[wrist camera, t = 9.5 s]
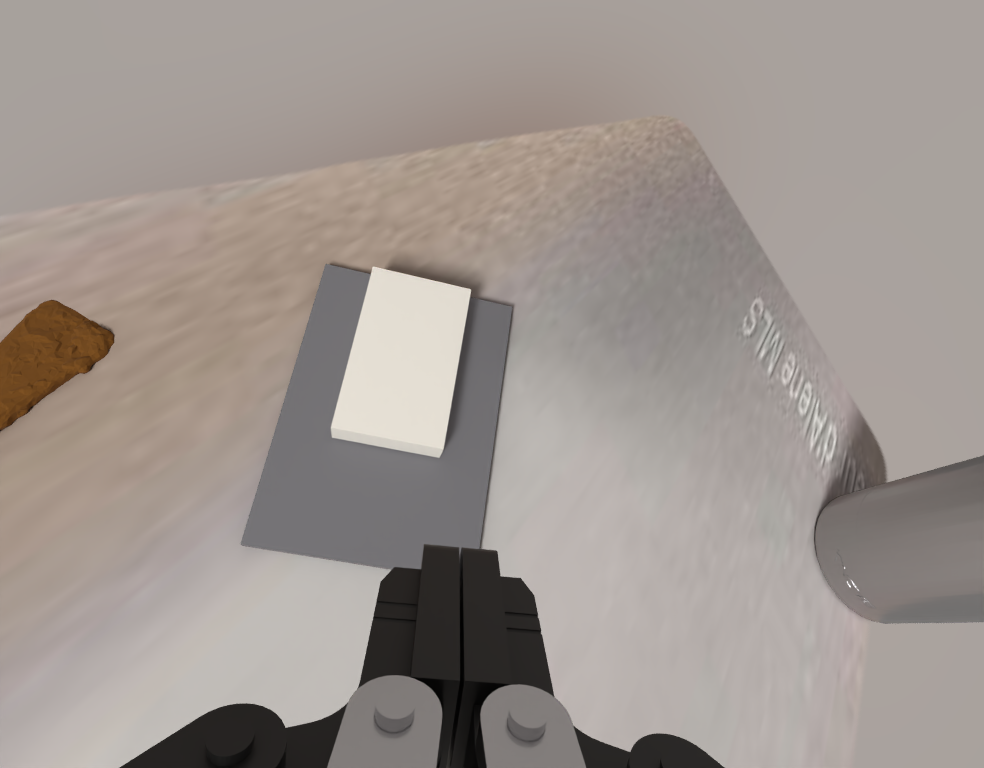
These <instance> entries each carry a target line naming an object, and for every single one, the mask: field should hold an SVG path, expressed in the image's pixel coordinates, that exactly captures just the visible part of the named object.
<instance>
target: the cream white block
mask: <svg viewBox="0 0 984 768" xmlns="http://www.w3.org/2000/svg"><path fill="white" fill-rule="evenodd" d="M470 294H471V289H468V288H463V287H459V286H455V285H450V284H446V283H442V282H438V281H433V280H429V279H425V278H420V277H416V276H412V275H407V274H403V273H399V272H394V271H390V270H386V269H381V268H377V267H373V268H372V272H371V276H370V280H369V284H368V287H367V291H366V295H365V299H364V303H363V306H362V310H361V314H360V318H359V322H358V326H357V329H356V333H355V337H354V341H353V345H352V348H351V352H350V356H349V360H348V364H347V367H346V371H345V375H344V379H343V383H342V387H341V390H340V394H339V398H338V402H337V406H336V409H335V413H334V417H333V421H332V425H331V434H332V438H337V439H342V440H347V441H353V442H358V443H363V444H369V445H374V446H379V447H384V448H390V449H395V450H400V451H405V452H411V453H416V454H421V455H427V456H432V457H437V458H440V456H441V454H442V451H443V449H444V444H445V438H446V432H447V426H448V421H449V415H450V409H451V403H452V397H453V392H454V386H455V380H456V374H457V369H458V363H459V357H460V351H461V346H462V340H463V334H464V328H465V323H466V317H467V311H468V305H469V299H470Z"/></svg>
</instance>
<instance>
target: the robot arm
mask: <svg viewBox="0 0 984 768" xmlns="http://www.w3.org/2000/svg"><path fill="white" fill-rule="evenodd" d="M815 545H816V552H817V558H818V561H819V564H820V567H821V570H822V572H823V574H824V576H825V578H826V580H827V582H828V584H829V585H830V587H831V588H832V589H833V591H834V592H835V593H836V595H837V596H838V597H839V598H840V599H841V600H842V601H843V602H844V603H845V604H846V605H847V606H848V607H849V608H850V609H852V610H853V611H854V612H856V613H857V614H859V615H860V616H862V617H865V618H867V619H869V620H871V621H874V622H880V623H885V624H888V623H967V622H984V455H983V456H980V457H976V458H973V459H969V460H966V461H963V462H959V463H955V464H952V465H948V466H945V467H941V468H938V469H934V470H931V471H927V472H924V473H920V474H917V475H913V476H910V477H906V478H902V479H899V480H895V481H892V482H888V483H884V484H880V485H877V486H874V487H870V488H867V489H863V490H860V491H856V492H853V493H849V494H846V495H842V496H839V497H837V498H836V499H834V500H832V501H830V503H829V504H828V505H827V506H826V507H825V508H824V509H823V511H822V513H821V515H820V517H819V518H818V522H817V526H816V532H815ZM120 768H724V767H723V766H722V765H720V764H719V763H718V762H717V761H716V760H714V759H713V758H712V757H711V756H709V755H708V754H707V753H706V752H704V751H703V750H702V749H700V748H699V747H698V746H696V745H694V744H693V743H691V742H689V741H687V740H685V739H682V738H680V737H677V736H674V735H669V734H651V735H647V736H644V737H642V738H641V739H639V740H638V741H637V742H636V743H635V744H634V746H633V748H632V750H631V752H628V751H625V750H622V749H619V748H617V747H614V746H611V745H608V744H605V743H603V742H600V741H598V740H595V739H593V738H591V737H589V736H587V735H586V734H584V733H582V732H581V731H580V730H578V729H577V728H576V727H574V726H573V723H572V720H571V718H570V716H569V714H568V712H567V710H566V709H565V707H564V706H563V705H562V704H561V703H560V702H559V701H558V700H557V699H556V698H555V697H554V693H553V688H552V683H551V678H550V673H549V668H548V663H547V658H546V653H545V648H544V643H543V638H542V634H541V628H540V623H539V618H538V613H537V608H536V602H535V597H534V595H533V593H532V592H531V591H530V590H529V588H528V587H527V586H526V584H525V583H524V582H523V581H522V579H521V578H512V577H501V576H500V569H499V561H498V553H497V551H495V550H484V549H474V548H463V547H462V548H461V552H460V558H459V547H452V546H441V545H431V544H424V547H423V555H422V563H421V569H413V568H402V567H394V568H393V569H392V570H391V571H390V572H389V574H388V575H387V576H386V577H385V578H384V579H383V580H382V581H381V583H380V588H379V593H378V597H377V603H376V607H375V612H374V617H373V622H372V626H371V631H370V636H369V641H368V646H367V651H366V655H365V660H364V665H363V670H362V675H361V680H360V683H359V687H358V689H357V690H356V691H355V692H354V694H353V695H352V697H351V698H350V700H349V702H348V703H347V704H346V705H345V706H344V707H343V708H341V709H340V710H339V711H337V712H336V713H334V714H332V715H330V716H328V717H326V718H324V719H321V720H318V721H315V722H311V723H307V724H302V725H297V726H293V727H288V728H285V726H284V724H283V722H282V720H281V719H280V718H279V717H278V715H277V714H275V713H274V712H273V711H271V710H270V709H267V708H265V707H263V706H259V705H256V704H233V705H227V706H224V707H220V708H217V709H215V710H212V711H210V712H208V713H206V714H204V715H203V716H201V717H199V718H198V719H196V720H194V721H193V722H191V723H190V724H188V725H186V726H185V727H183V728H182V729H180V730H178V731H177V732H175V733H174V734H172V735H171V736H169V737H167V738H166V739H164V740H163V741H161V742H159V743H158V744H156V745H155V746H153V747H152V748H150V749H148V750H147V751H145V752H144V753H142V754H140V755H139V756H137V757H136V758H134V759H132V760H131V761H129V762H128V763H126V764H125V765H123V766H121V767H120Z"/></svg>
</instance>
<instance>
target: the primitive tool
mask: <svg viewBox="0 0 984 768" xmlns="http://www.w3.org/2000/svg"><path fill="white" fill-rule="evenodd" d="M113 343H114V335H113V334H112V333H111V332H110V331H108V330H106V329H104V328H102V327H101V326H100V325H98V324H97V323H95V322H94V321H91V320H89V319H87V318H86V317H84V316H83V315H81V314H80V313H78V312H76V311H75V310H73V309H71V308H69V307H67V306H64V305H63V304H61V303H60V302H57V301H54V300H50V301H46V302H43V303H41V304H40V305H39V306H38V307H37V308H36V309H34V310H32V311H31V312H30V313H28V314H27V315H26V316H25V317H24V319H23V320H22V321H21V322H20V323H19V324H18V325H17V326H16V327H15V328H14V329H13V330H12V331H11V332H10V333H9V334H8V335H7V336H6V337H5V338H4V339H3V341H2V342H1V343H0V430H2V429H4V428H5V427H7V426H10V425H11V424H12V423H13V422H14V421H15V420H16V419H17V418H19V417H21V416H23V415H25V414H26V413H28V410H29V408H31V407H32V406H34V405H36V404H37V403H38V402H39V401H40V400H41V399H43V398H44V397H46V396H47V395H48V394H50V393H52V392H53V391H55V390H56V389H57V388H58V387H60V386H61V385H63V384H64V383H65V382H67V381H69V380H70V379H71V378H73V377H74V376H75V375H77V374H79V373H83V374H85V373H87V372H89V371H90V368H91V366H92V365H93V364H94V363H96V362H98V361H99V360H101V359H102V358H104V357H105V356H106V355H107V354H108V350H109V349H110V348H111V346H112V345H113Z"/></svg>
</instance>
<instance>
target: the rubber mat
mask: <svg viewBox="0 0 984 768" xmlns="http://www.w3.org/2000/svg"><path fill="white" fill-rule="evenodd" d="M370 276H371V274H368V273H363V272H359V271H355V270H350V269H346V268H342V267H337V266H333V265H329V264H326V265H325V268H324V271H323V275H322V278H321V281H320V285H319V288H318V291H317V294H316V298H315V301H314V304H313V308H312V311H311V314H310V317H309V321H308V324H307V327H306V331H305V334H304V337H303V341H302V344H301V347H300V350H299V354H298V357H297V360H296V364H295V367H294V370H293V373H292V377H291V380H290V383H289V387H288V390H287V393H286V396H285V400H284V403H283V406H282V410H281V413H280V416H279V420H278V423H277V426H276V429H275V433H274V436H273V439H272V443H271V446H270V449H269V452H268V456H267V459H266V462H265V466H264V469H263V472H262V475H261V479H260V482H259V485H258V489H257V492H256V495H255V499H254V502H253V505H252V508H251V512H250V515H249V518H248V522H247V525H246V528H245V531H244V535H243V538H242V541H241V545H242V546H248V547H254V548H261V549H267V550H273V551H279V552H285V553H292V554H298V555H304V556H310V557H317V558H323V559H329V560H335V561H341V562H348V563H354V564H360V565H366V566H373V567H379V568H385V569H391V570H392V569H393V568H394V567H402V568H413V569H421V563H422V555H423V547H424V544H431V545H441V546H452V547H459V558H460V552H461V548H462V547H463V548H474V549H479V548H480V541H481V533H482V526H483V519H484V511H485V504H486V497H487V489H488V482H489V474H490V467H491V460H492V452H493V445H494V438H495V430H496V423H497V416H498V408H499V401H500V394H501V386H502V379H503V372H504V364H505V357H506V350H507V342H508V335H509V328H510V320H511V313H512V307H511V306H507V305H502V304H498V303H494V302H489V301H485V300H481V299H476V298H472V297H470V299H469V305H468V311H467V317H466V323H465V328H464V334H463V340H462V346H461V351H460V357H459V363H458V369H457V374H456V380H455V386H454V392H453V397H452V403H451V409H450V415H449V421H448V426H447V432H446V438H445V444H444V449H443V451H442V454H441V456H440V458H437V457H432V456H427V455H421V454H416V453H411V452H405V451H400V450H395V449H390V448H384V447H379V446H374V445H369V444H363V443H358V442H353V441H347V440H342V439H337V438H332V434H331V425H332V421H333V417H334V413H335V409H336V406H337V402H338V398H339V394H340V390H341V387H342V383H343V379H344V375H345V371H346V367H347V364H348V360H349V356H350V352H351V348H352V345H353V341H354V337H355V333H356V329H357V326H358V322H359V318H360V314H361V310H362V306H363V303H364V299H365V295H366V291H367V287H368V284H369V280H370Z"/></svg>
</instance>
